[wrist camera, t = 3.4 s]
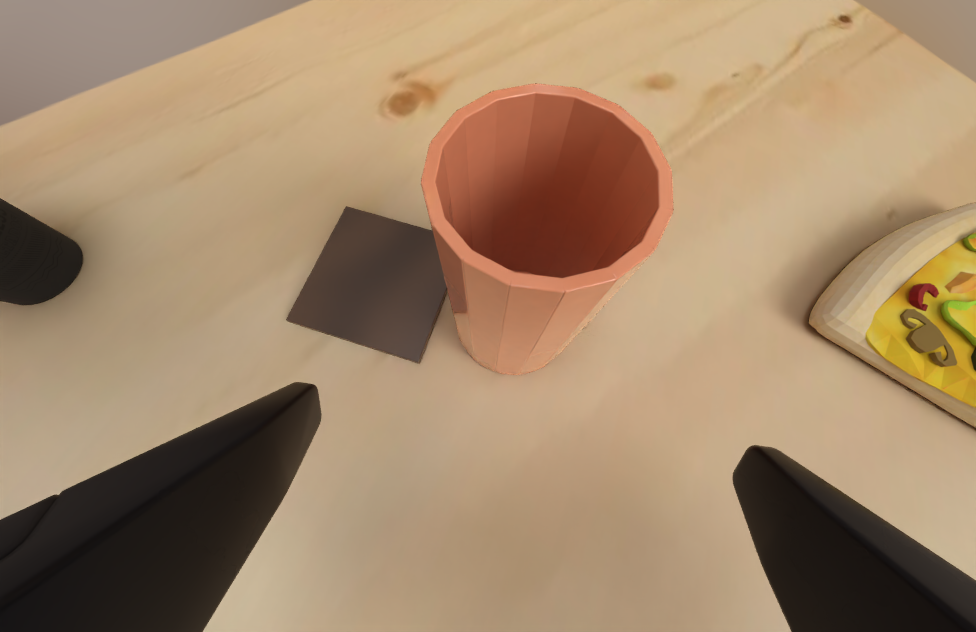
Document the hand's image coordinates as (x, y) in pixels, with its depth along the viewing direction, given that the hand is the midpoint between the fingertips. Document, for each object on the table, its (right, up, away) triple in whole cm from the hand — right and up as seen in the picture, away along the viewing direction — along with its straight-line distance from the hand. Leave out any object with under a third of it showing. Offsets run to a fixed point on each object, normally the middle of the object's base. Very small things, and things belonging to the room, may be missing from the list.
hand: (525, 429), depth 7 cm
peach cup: (+1, +2, +14) cm, 14 cm away
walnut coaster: (-8, +5, +15) cm, 17 cm away
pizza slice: (+29, -2, +13) cm, 32 cm away
